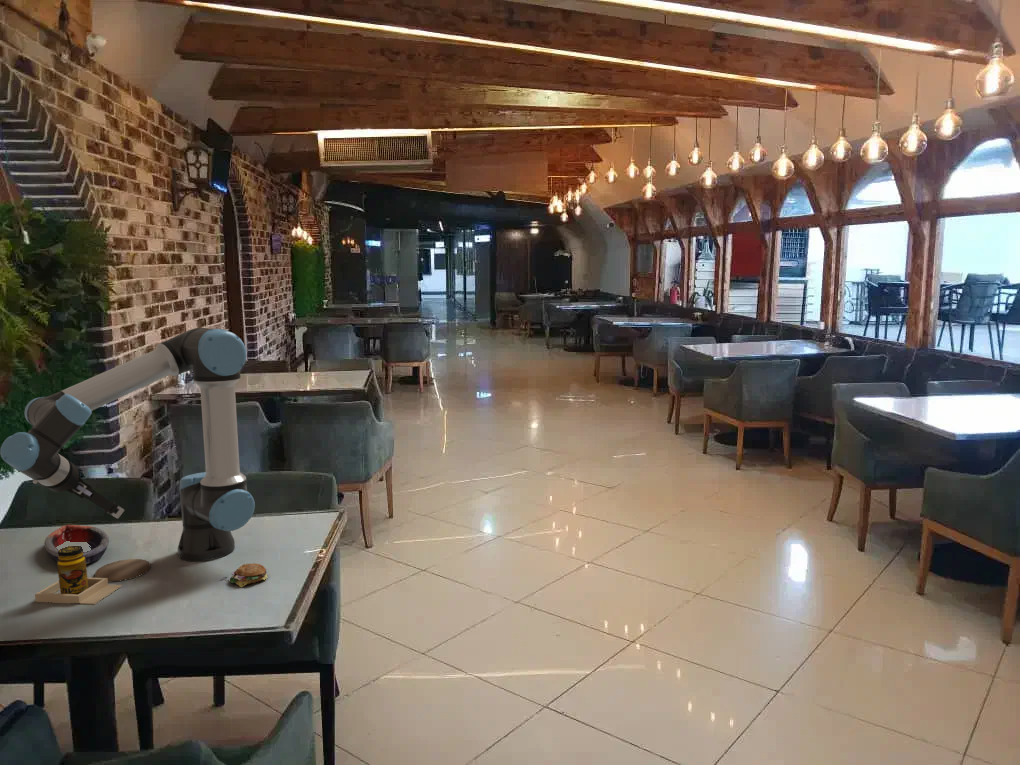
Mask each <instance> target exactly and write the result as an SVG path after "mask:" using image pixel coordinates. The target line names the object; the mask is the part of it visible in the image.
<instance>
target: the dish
mask: <svg viewBox="0 0 1020 765" xmlns="http://www.w3.org/2000/svg"><path fill="white" fill-rule="evenodd" d="M66 541H70V542H87V543H88V544H89V545H90V546H91V547H90V546H89V547H90V548H91V550H90V551H87V552H83V556H84V557H85V560H86V565H88V564H91V563H94V562H96V561H97V560H100V558H102V557H103V555H104V554H105V552H106V551H107V549H108V546H109V542H110V539H109V536H108V534H107V533H106V532H105V531H104V530H102V529H101V528H99V527H96V526H89V525H80V524H79V525H78V524H66V525H62V526H60V527H59V528H57V529H55V530H54V531H52V532H51V533H50V534H48V536H47V537H46V538H45V539H44V543H43V544H44V547H45V548H44V549H45V550H46V551H47V553H48V555H49V556H50V557H51V558H52V559H53V560H54V561H55V562H57V563H58V561H59V559H58V551H59V550H58V549H57V548H56V547H57V546H59V545H61V544H63V543H64V542H66Z"/></svg>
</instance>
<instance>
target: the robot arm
mask: <svg viewBox="0 0 1020 765" xmlns="http://www.w3.org/2000/svg"><path fill="white" fill-rule="evenodd" d="M246 360H247V349H246V345H245V344H244V342H243V340H242V338H240V337H239V336H238V335H237V334H235V333H234V332H231V331H229V330H226V329H222V328H210V327H209V328H208V327H196V328H193V329H192V328H191V329H189V330H186V331H184V332H182V333H179V334H177V335H175V336H174V337H173V336H172V337H170V338H169V339H166V340H165V341H162V342H160V343H158V344H157V345H156V348H155V349H154V350H152V351H150V352H147V353H144V354H143V355H140V356H138V357H135V358H133V359H131V360H129V361H127V362H124V363H122V364H120V365H117V366H114V367H113V368H110V369H108V370H105V371H103V372H101V373H98V374H96V375H94V376H92V377H90V378H88V379H86V380H82V381H80V382H79V383H76V384H74V385H71V386H69V387H67V388H64V389H62V390H60V391H58V392H56V393H52V394H51V395H48V396H41V397H36V398H32V399H31V400H30V401H28V403H27V404H26V406H25V408H24V418H25V420H26V421H27V422H28V423H29V424H30V425H31V426H32V428H30V430H28V432H25V431H22V432H21V431H20V432H15V433H14V434H12V435H10V436H8V437H7V438H5V440H4V441H3V442H2V444H1V446H0V457H1V458H2V460H3V461H4V463H6V464H8V465H9V466H10V467H11V468H13V469H15V470H16V471H18V472H19V473H20V474H21V473H22V474H23V475H25V476H26V477H28V478H30V479H32V483H33V484H34V485H36V484H38V483H39V484H40V485H42V486H43V487H44V488H46V489H47V490H50V491H52V492H54V493H62V492H66V491H67V492H69V493H70V494H74V495H76V496H78V497H79V498H81V499H84V498H85V499H86V500H88V501H89V502H91V503H92V504H94V505H96V506H98V507H99V508H101V509H102V511H103V512H102V513H103V514H104V515H106V514H109V515H111V516H113V517H114V518H116V519H119V518H120V517H121V515H122V514H123V513H124V512H125V510H126V509H124V508H122V507H121V506H120V505H118V504H117V503H115V502H114V501H112V500H110V499H108V498H106V497H105V496H103V495H102V494H100V493H99V492H97V491H96V490H94V489H93V488H92V485H90V484H88V483H87V482H85V481H84V479H83V478H81V477H80V475H79V474H80V472H79V468H78V467H77V466H76V464H74V463H72V462H71V461H70V460H68V459H67V458H65V456H63V455H61V454H59V452H60V451H61V449H62V448H63V447H64V446H65V445H66V444H67V443H68V442H69V440H71V438H72V437H73V436H74V435H75V434H77V432H78V431H79V430H80V429H81V427H82V426H84V425H85V424H86V422H87V421H88V420H89V418H90V417H91V416H92V411H94V410H96V409H99V408H101V407H103V406H105V405H108V404H109V403H111V402H114V401H116V400H118V399H120V398H122V397H125V396H127V395H129V394H132V393H133V392H136V391H137V390H141V389H142V388H144V387H147V386H149V385H150V384H153V383H155V382H157V381H159V380H162V379H163V378H166V377H168V376H173V377H176V376H179V375H181V374H185V373H187V372H192V376H193V377H192V378H193V382H194V383H195V385H197V386H199V389H200V391H199V392H200V403H201V418H202V436H203V448H204V449H203V450H204V462H205V463H204V464H205V471H204V472H197V473H192V474H189V475H185V476H183V477H181V479H180V480H179V490H178V491H179V497H180V498H179V499H180V508H181V509H180V510H181V520H182V531H181V535H180V538H179V542H178V546H177V555H178V557H179V559H181V560H183V561H189V562H202V561H203V562H204V561H209V560H210V561H211V560H215V559H218V558H222V557H225V556H227V555H229V554H231V553H232V552H234V550H235V549H236V544H235V542H236V541H235V538H234V537H233V533H232V532H233V531H236V530H237V531H238V530H240V529H241V528H243V527H244V526H245V525H246V524H247V523H248V522H249V520H251V519H252V517H253V514H254V512H255V508H256V504H255V500H254V499H255V498H254V497H253V495H252V494H251V493H250V492H249V491H248V488H247V487H248V486H247V476H246V475H245V474H243V473H242V472H241V469H240V468H241V467H240V453H239V452H240V451H239V437H238V435H239V434H238V420H237V419H238V418H237V416H238V415H237V400H236V398H237V397H236V384H237V383H239V381H240V380H241V370H242V368H243V366H245V364H246Z"/></svg>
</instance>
